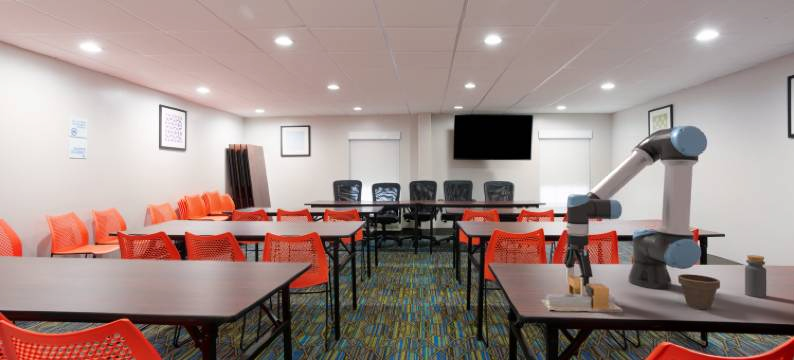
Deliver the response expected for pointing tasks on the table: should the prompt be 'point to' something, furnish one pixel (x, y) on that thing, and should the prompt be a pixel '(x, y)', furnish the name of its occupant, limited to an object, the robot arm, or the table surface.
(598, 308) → the rail
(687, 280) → the flower pot
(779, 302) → the table surface
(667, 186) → the robot arm
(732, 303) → the table surface
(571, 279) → the orange cube
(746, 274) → the bottle
